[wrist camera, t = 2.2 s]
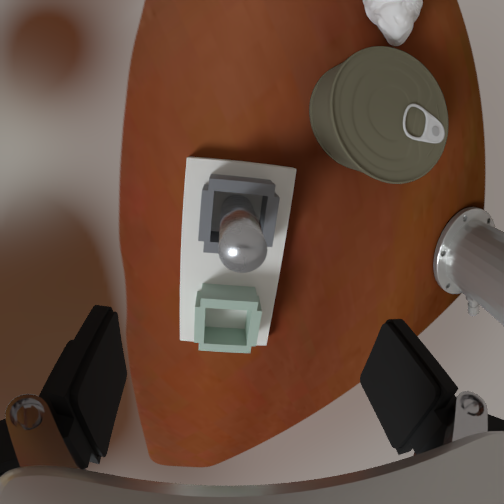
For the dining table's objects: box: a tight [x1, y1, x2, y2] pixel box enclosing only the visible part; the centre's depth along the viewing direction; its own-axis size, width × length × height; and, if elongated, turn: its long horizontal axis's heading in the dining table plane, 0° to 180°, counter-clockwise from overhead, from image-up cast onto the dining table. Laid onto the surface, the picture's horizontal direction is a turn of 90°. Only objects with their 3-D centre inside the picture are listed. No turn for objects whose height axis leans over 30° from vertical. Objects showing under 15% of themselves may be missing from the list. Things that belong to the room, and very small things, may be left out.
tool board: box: [180, 157, 297, 353], centre depth 29 cm, size 20×10×4 cm, turn 173°
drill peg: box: [218, 195, 267, 273], centre depth 23 cm, size 3×3×10 cm
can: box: [309, 46, 448, 184], centre depth 23 cm, size 12×12×7 cm
